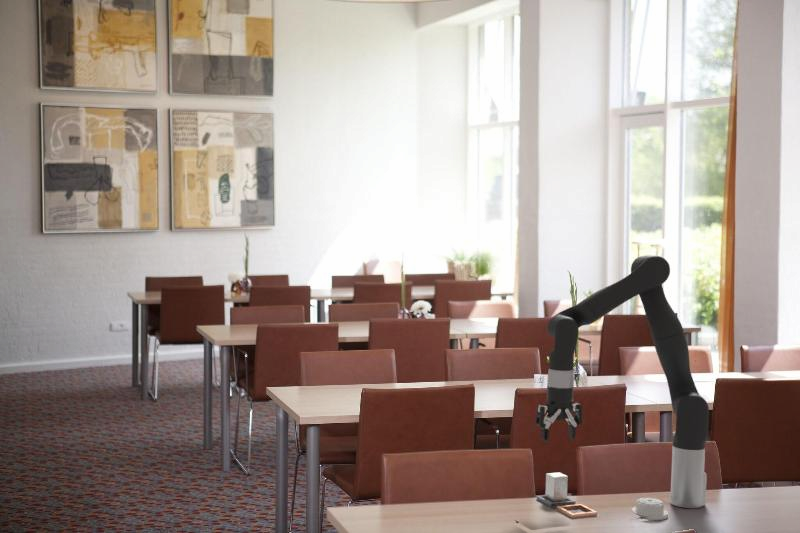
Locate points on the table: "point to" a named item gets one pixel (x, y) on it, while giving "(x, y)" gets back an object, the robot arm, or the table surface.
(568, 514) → the double frame tray
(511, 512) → the table surface
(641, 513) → the mechanical component
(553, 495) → the block
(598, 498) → the table surface
